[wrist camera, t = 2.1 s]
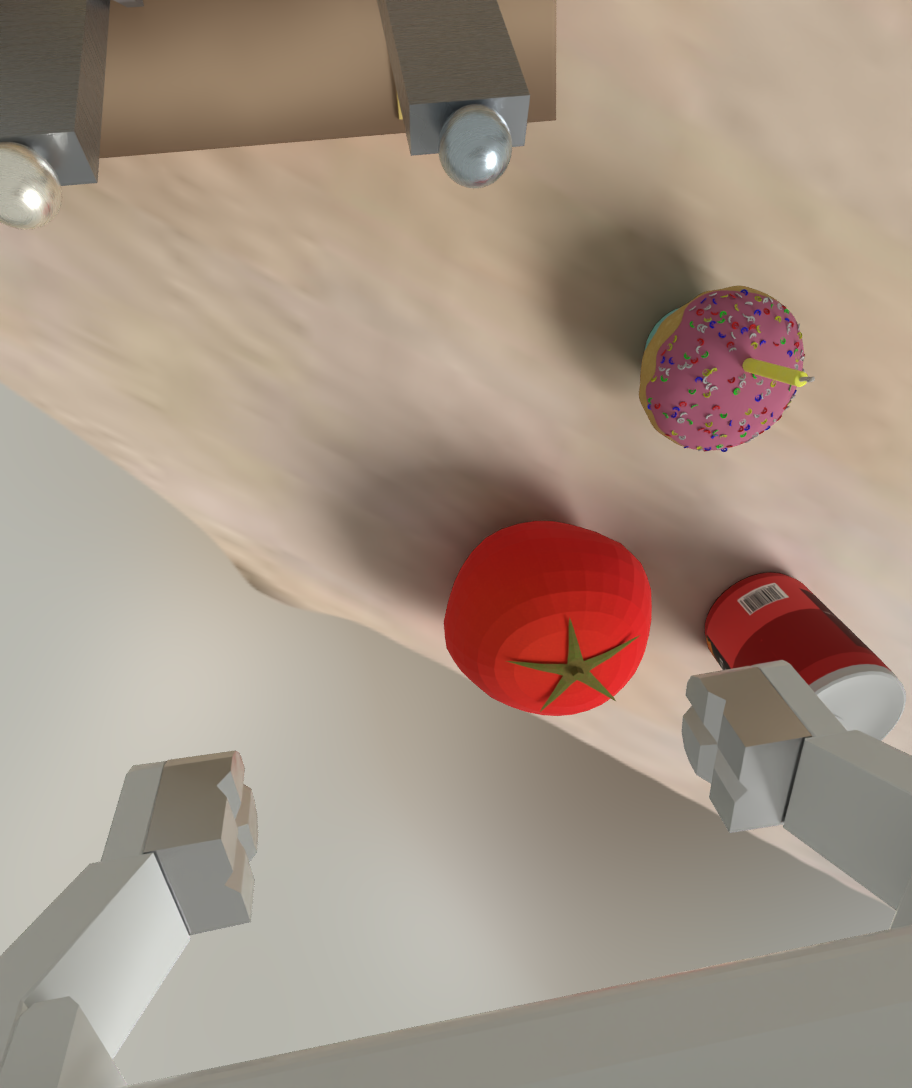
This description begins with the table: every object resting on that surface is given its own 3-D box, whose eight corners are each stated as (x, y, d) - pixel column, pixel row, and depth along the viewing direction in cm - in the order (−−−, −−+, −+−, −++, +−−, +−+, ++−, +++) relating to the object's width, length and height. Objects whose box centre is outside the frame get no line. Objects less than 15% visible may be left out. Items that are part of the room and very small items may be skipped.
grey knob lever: (468, -16, 28) (537, 199, 23) (373, -10, 28) (421, 209, 22) (470, -87, 26) (547, 130, 21) (368, -81, 26) (419, 141, 20)
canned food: (680, 644, 54) (756, 757, 44) (743, 554, 50) (839, 657, 41) (760, 668, 56) (848, 780, 47) (825, 584, 53) (933, 687, 44)
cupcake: (619, 275, 39) (724, 334, 29) (769, 264, 40) (921, 317, 30) (608, 426, 44) (696, 523, 34) (743, 412, 45) (868, 503, 35)
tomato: (590, 644, 52) (645, 755, 43) (421, 634, 50) (443, 750, 41) (639, 503, 47) (714, 597, 38) (453, 482, 44) (487, 578, 35)
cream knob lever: (113, 7, 27) (97, 240, 21) (9, 13, 26) (-34, 252, 21) (88, -66, 25) (63, 171, 19) (-25, -60, 24) (-82, 183, 19)
